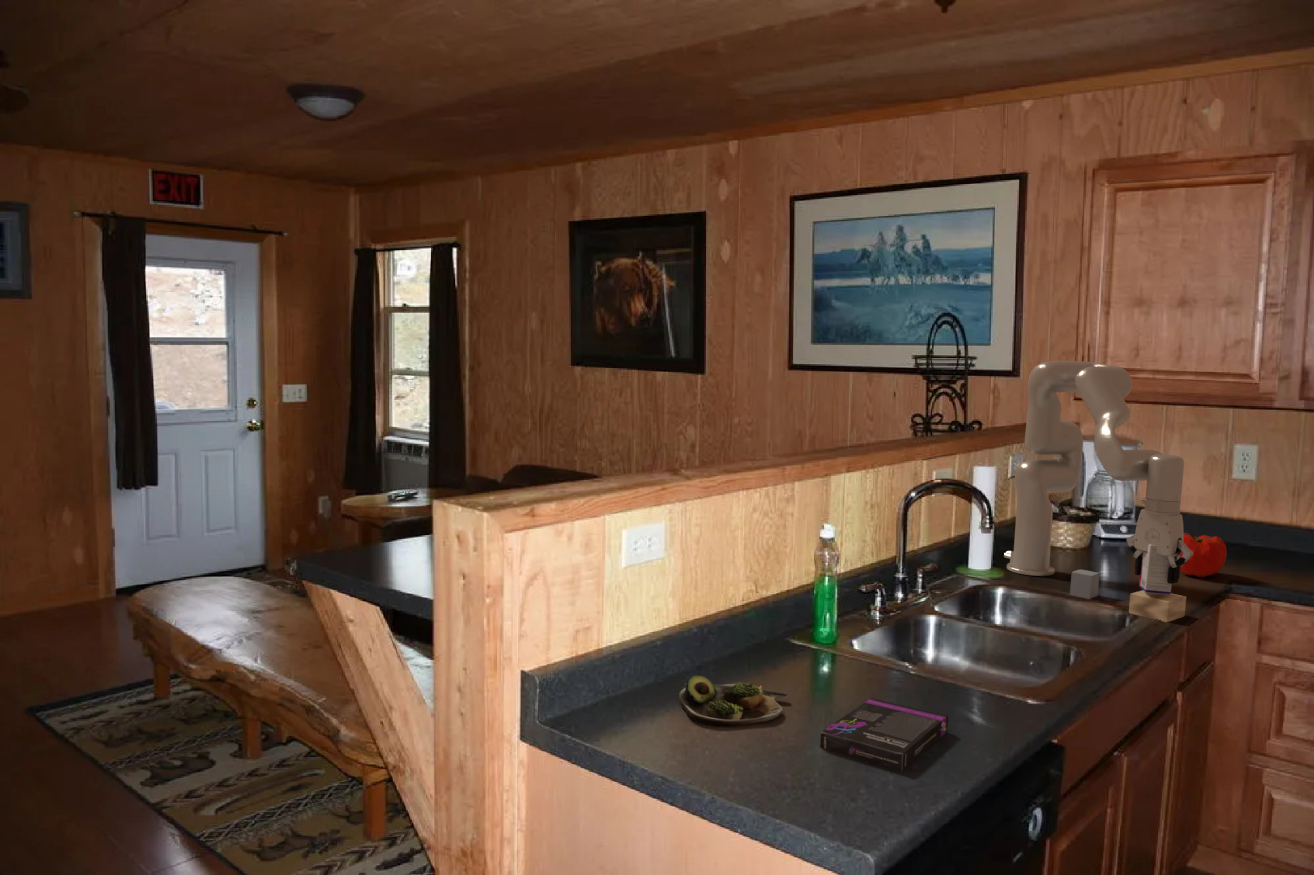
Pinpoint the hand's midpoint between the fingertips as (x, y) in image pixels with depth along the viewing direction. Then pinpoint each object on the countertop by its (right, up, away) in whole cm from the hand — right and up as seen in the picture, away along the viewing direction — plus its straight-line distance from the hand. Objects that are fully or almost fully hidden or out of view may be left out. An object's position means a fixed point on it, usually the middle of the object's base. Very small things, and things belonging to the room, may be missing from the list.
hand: (1156, 578), depth 239 cm
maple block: (0, -9, +1) cm, 9 cm away
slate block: (-10, -7, +17) cm, 21 cm away
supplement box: (0, -3, 0) cm, 3 cm away
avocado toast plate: (-108, -14, -65) cm, 127 cm away
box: (-83, -16, -77) cm, 114 cm away
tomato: (+33, -5, +42) cm, 54 cm away
